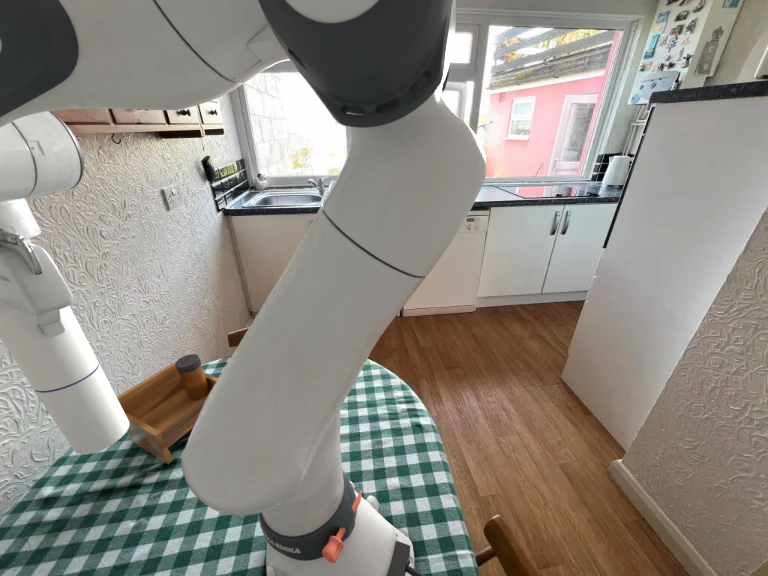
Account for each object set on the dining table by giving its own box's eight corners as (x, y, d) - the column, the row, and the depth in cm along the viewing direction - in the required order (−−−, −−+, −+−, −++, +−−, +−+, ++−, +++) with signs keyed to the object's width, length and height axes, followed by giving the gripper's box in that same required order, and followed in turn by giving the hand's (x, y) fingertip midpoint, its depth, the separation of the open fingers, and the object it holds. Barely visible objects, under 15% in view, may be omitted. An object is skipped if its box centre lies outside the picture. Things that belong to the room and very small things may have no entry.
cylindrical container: (98, 458, 47) (9, 315, 37) (61, 450, 49) (-34, 310, 38) (140, 420, 54) (75, 289, 43) (106, 414, 55) (35, 286, 44)
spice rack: (234, 407, 75) (220, 358, 68) (168, 464, 62) (142, 409, 55) (201, 392, 79) (184, 345, 73) (133, 442, 66) (106, 389, 60)
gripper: (59, 227, 35) (108, 332, 41) (-13, 214, 43) (37, 303, 49) (-25, 243, 30) (45, 360, 36) (-89, 225, 38) (-23, 322, 44)
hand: (40, 327), depth 42 cm, fingers closed on cylindrical container, 7 cm apart
